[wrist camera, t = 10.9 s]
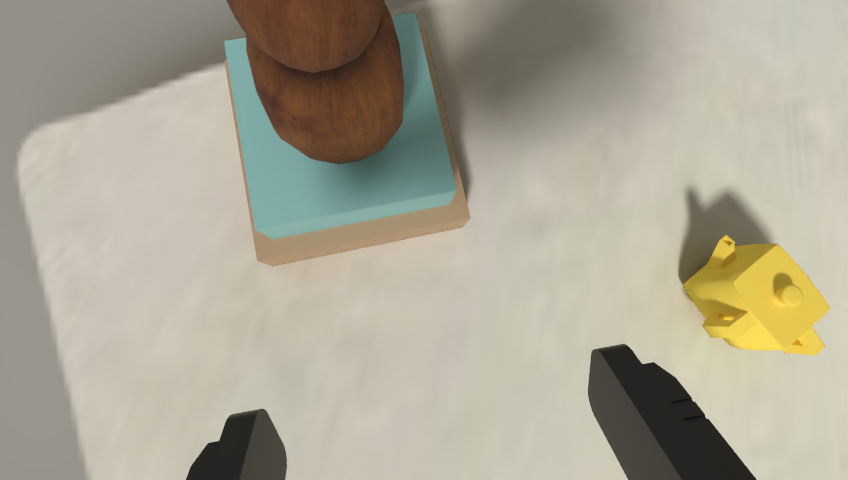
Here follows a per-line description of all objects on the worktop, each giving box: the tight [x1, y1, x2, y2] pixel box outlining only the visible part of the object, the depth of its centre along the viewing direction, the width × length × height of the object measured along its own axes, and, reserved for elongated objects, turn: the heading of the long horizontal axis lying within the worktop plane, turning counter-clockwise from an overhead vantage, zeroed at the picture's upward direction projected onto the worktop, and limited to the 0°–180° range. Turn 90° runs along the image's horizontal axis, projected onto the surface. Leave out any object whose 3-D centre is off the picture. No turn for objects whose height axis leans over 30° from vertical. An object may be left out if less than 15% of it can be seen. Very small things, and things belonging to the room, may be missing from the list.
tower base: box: [224, 12, 470, 266], centre depth 24 cm, size 12×12×6 cm
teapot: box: [683, 235, 830, 355], centre depth 25 cm, size 8×6×5 cm
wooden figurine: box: [227, 0, 404, 164], centre depth 14 cm, size 7×6×15 cm
